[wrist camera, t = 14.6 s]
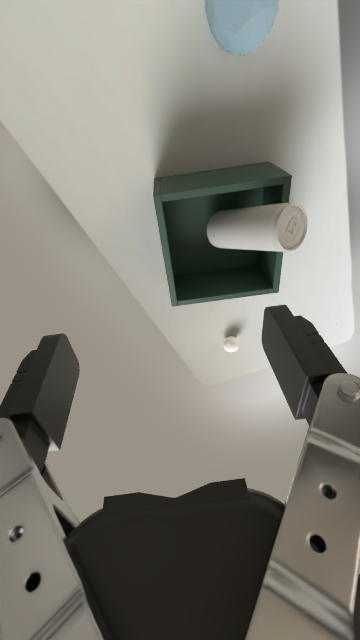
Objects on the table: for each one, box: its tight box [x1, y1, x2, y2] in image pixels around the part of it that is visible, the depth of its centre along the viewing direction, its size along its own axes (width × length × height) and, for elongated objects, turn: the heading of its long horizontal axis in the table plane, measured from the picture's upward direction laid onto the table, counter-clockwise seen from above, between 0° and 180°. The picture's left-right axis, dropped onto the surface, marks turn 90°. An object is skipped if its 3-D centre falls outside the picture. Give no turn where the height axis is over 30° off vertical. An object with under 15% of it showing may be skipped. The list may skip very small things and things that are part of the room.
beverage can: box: [207, 203, 307, 252], centre depth 34 cm, size 5×5×12 cm
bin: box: [153, 162, 292, 306], centre depth 37 cm, size 15×15×8 cm
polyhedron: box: [223, 336, 239, 352], centre depth 53 cm, size 3×3×3 cm
